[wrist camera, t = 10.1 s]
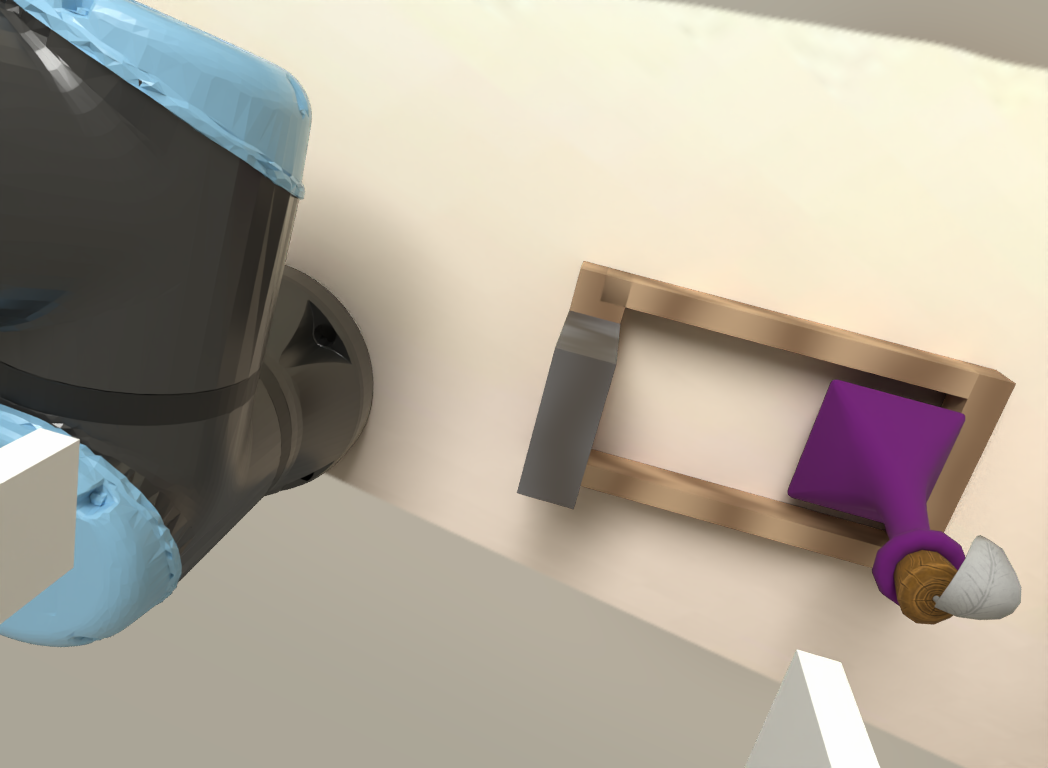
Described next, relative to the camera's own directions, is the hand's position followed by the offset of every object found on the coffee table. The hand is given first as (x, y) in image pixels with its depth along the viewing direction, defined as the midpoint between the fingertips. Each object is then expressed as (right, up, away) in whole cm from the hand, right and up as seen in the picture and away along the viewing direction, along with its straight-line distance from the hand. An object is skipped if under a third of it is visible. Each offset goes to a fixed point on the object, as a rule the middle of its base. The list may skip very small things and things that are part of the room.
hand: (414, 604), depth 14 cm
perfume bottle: (+22, +1, +34) cm, 40 cm away
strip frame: (+16, +2, +34) cm, 38 cm away
